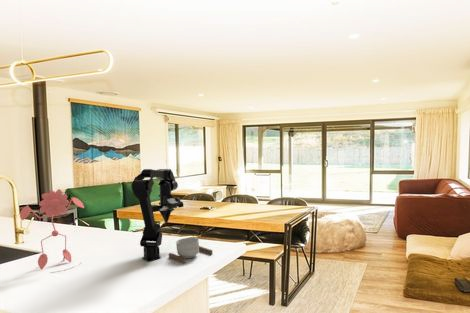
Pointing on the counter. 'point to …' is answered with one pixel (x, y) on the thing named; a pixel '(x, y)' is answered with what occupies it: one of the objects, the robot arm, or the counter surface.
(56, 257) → the counter surface
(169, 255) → the guide rails
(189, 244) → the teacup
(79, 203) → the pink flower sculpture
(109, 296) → the counter surface
